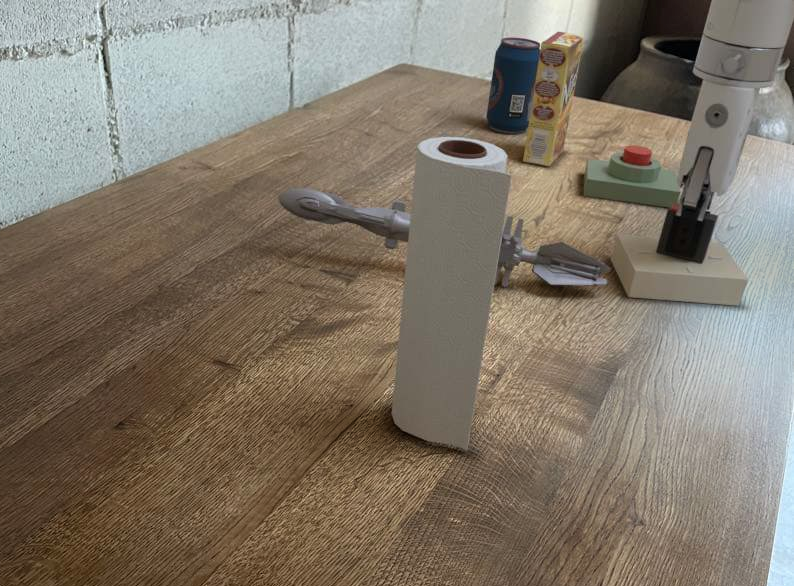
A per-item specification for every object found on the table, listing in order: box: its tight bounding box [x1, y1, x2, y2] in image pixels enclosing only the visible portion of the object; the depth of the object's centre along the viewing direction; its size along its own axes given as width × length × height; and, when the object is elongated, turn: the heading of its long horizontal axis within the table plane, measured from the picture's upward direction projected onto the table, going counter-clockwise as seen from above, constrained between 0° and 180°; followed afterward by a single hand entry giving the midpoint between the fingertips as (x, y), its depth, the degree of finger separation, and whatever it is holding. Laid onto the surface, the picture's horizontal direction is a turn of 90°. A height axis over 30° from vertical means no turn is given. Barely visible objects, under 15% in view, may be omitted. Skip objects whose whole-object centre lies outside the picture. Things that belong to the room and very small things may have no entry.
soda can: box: [486, 37, 541, 135], centre depth 138 cm, size 7×7×12 cm
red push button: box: [622, 145, 653, 166], centre depth 121 cm, size 4×4×2 cm
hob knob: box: [656, 203, 719, 263], centre depth 97 cm, size 5×2×5 cm, turn 66°
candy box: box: [522, 31, 585, 167], centre depth 127 cm, size 9×4×15 cm, turn 159°
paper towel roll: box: [391, 136, 513, 452], centre depth 67 cm, size 7×6×21 cm
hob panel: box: [610, 233, 749, 307], centre depth 100 cm, size 12×10×3 cm
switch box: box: [583, 152, 681, 209], centre depth 122 cm, size 12×9×4 cm
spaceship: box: [278, 187, 612, 288], centre depth 95 cm, size 8×35×8 cm
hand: (682, 248), depth 98 cm, fingers closed on hob knob, 2 cm apart
